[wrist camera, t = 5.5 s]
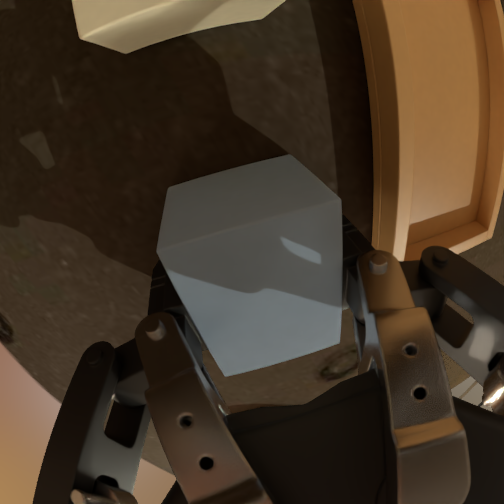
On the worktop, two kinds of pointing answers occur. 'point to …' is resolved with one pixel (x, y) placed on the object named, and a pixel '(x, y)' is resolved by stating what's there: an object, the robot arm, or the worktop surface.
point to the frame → (434, 121)
